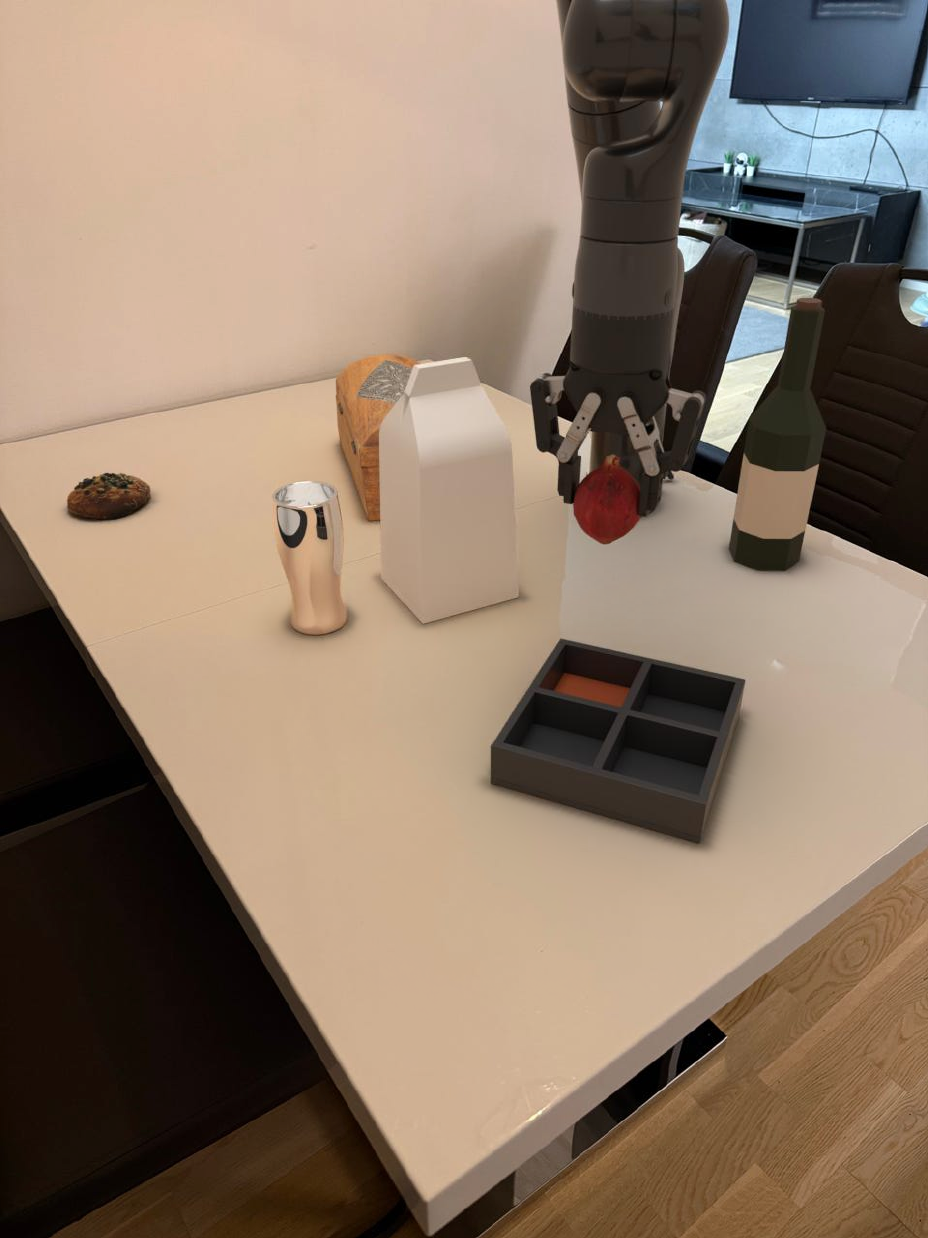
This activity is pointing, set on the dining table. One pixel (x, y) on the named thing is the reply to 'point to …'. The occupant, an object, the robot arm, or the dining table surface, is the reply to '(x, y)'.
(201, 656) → the dining table surface
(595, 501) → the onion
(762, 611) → the dining table surface
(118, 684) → the dining table surface
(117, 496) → the bread roll
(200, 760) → the dining table surface
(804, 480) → the wine bottle
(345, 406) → the wooden box
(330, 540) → the beer glass
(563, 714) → the compartment tray
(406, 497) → the milk
